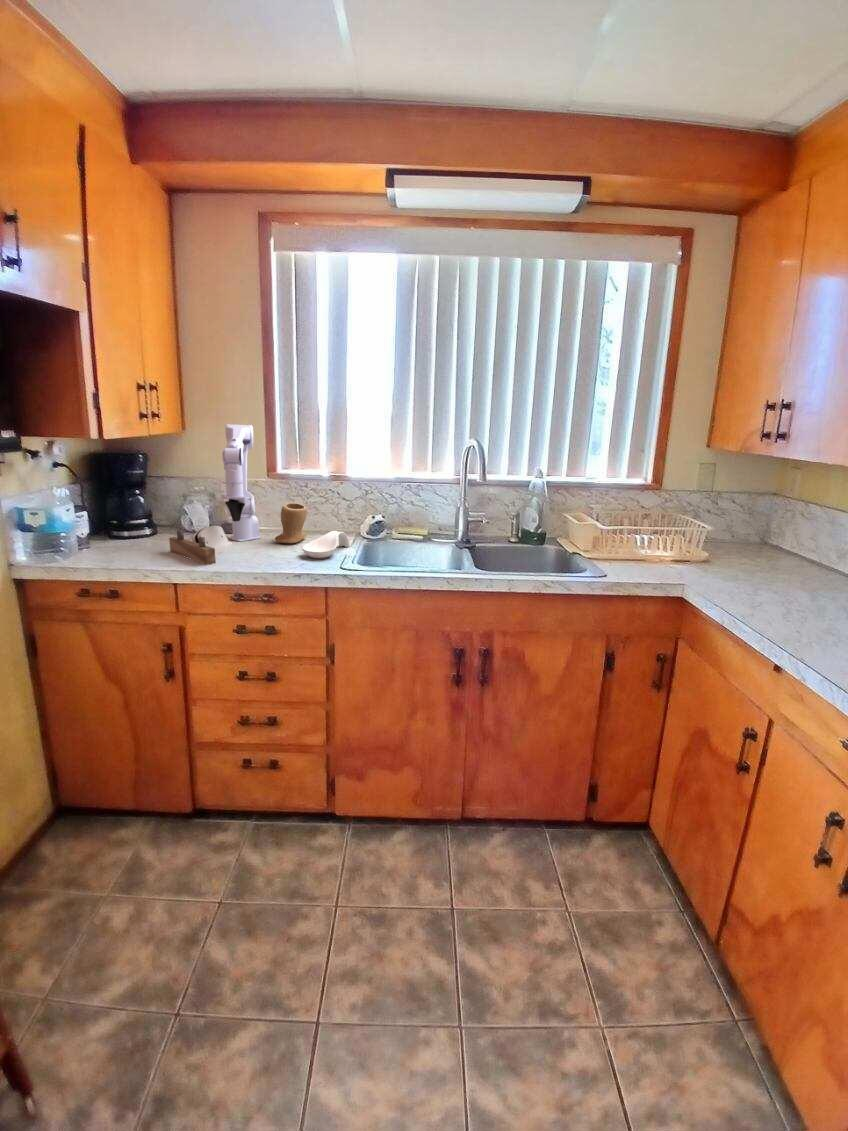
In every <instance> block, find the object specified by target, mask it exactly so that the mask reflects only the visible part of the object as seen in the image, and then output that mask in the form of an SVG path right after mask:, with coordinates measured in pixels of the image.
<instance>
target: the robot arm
mask: <svg viewBox="0 0 848 1131" xmlns="http://www.w3.org/2000/svg"><path fill="white" fill-rule="evenodd" d="M225 439H226V442H227V443H226V446H225V448H223V449H222V458H221V459H222V462H223V469H224V470H225V471H224V476H225V492H221V493H220V495H221V496H220V498H221V500H224V499H225V500H227V501H225V502H224V505H226V508H227V514H228V515H229V516H230V517H231V522H232V536H229V537H228V540H229V539H231V540H234V541H237V542H244V541H251V540H252V541H253V540H256V539H261V536H260V524H259V519H258V517H257V516H256V515H255V513H256V503H255V502H256V501H255V496H254V495H253V494H252V493H251V492H249V491H248V454H249V451H250V450H252V449H253V448H254V427H253V425H252V424H247V425H246V424H229V423H227V424H226V426H225Z"/></svg>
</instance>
